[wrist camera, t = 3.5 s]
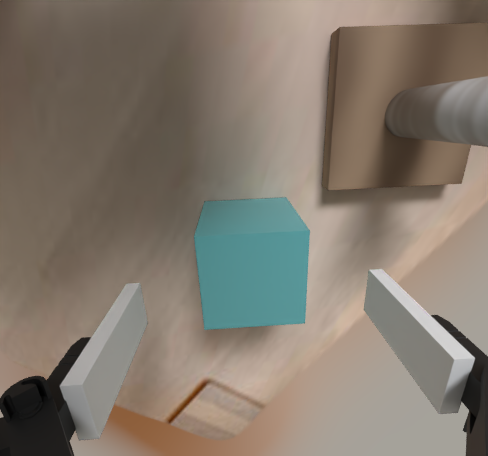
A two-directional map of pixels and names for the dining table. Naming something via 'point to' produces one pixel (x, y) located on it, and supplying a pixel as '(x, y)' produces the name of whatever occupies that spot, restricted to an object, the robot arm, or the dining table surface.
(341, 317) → the dining table surface
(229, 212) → the teal rectangular prism
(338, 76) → the post stand
